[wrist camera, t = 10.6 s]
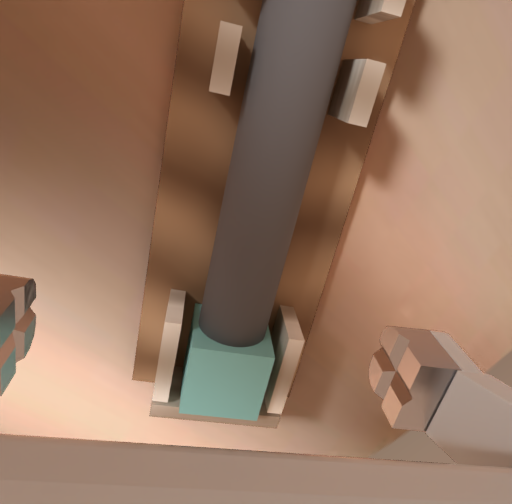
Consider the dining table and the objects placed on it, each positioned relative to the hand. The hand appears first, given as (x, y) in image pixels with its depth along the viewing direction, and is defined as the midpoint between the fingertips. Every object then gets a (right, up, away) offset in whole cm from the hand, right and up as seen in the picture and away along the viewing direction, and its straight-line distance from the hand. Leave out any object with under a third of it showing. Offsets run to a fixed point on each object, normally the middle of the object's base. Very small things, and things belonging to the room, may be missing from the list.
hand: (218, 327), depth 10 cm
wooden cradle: (+1, +5, +17) cm, 18 cm away
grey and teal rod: (+1, +6, +16) cm, 17 cm away
